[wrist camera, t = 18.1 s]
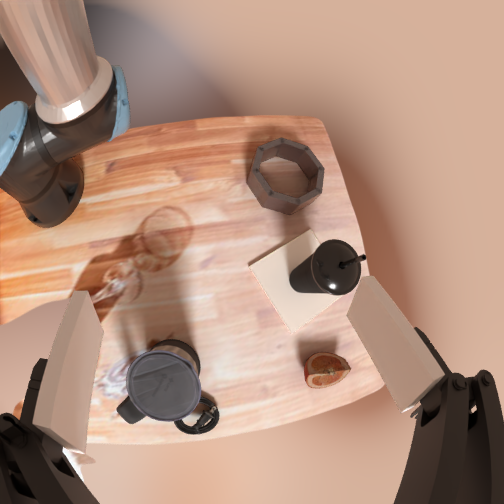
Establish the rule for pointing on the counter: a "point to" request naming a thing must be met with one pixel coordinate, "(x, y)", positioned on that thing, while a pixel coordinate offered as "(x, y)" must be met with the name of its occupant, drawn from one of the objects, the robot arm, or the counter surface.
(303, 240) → the coaster
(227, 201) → the counter surface
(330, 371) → the fruit slice
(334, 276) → the drinking cup
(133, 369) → the milk frother
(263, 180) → the grey octagonal ring
